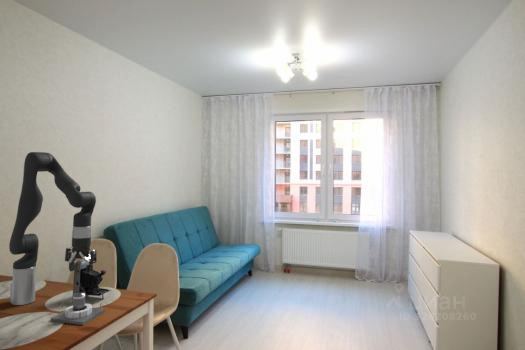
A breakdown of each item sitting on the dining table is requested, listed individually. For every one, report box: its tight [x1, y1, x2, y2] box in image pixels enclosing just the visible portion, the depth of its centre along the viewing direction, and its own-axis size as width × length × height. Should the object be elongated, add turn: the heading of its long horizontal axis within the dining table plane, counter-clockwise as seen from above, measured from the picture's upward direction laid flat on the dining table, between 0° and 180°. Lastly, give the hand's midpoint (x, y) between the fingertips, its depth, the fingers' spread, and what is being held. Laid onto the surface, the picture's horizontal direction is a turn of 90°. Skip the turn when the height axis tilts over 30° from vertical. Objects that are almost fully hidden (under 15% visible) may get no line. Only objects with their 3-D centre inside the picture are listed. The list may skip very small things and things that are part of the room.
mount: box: [50, 303, 106, 326], centre depth 146 cm, size 16×14×4 cm
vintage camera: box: [72, 259, 111, 300], centre depth 167 cm, size 10×16×20 cm, turn 79°
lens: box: [72, 292, 87, 311], centre depth 146 cm, size 5×5×9 cm
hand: (80, 271), depth 146 cm, fingers open, 8 cm apart
